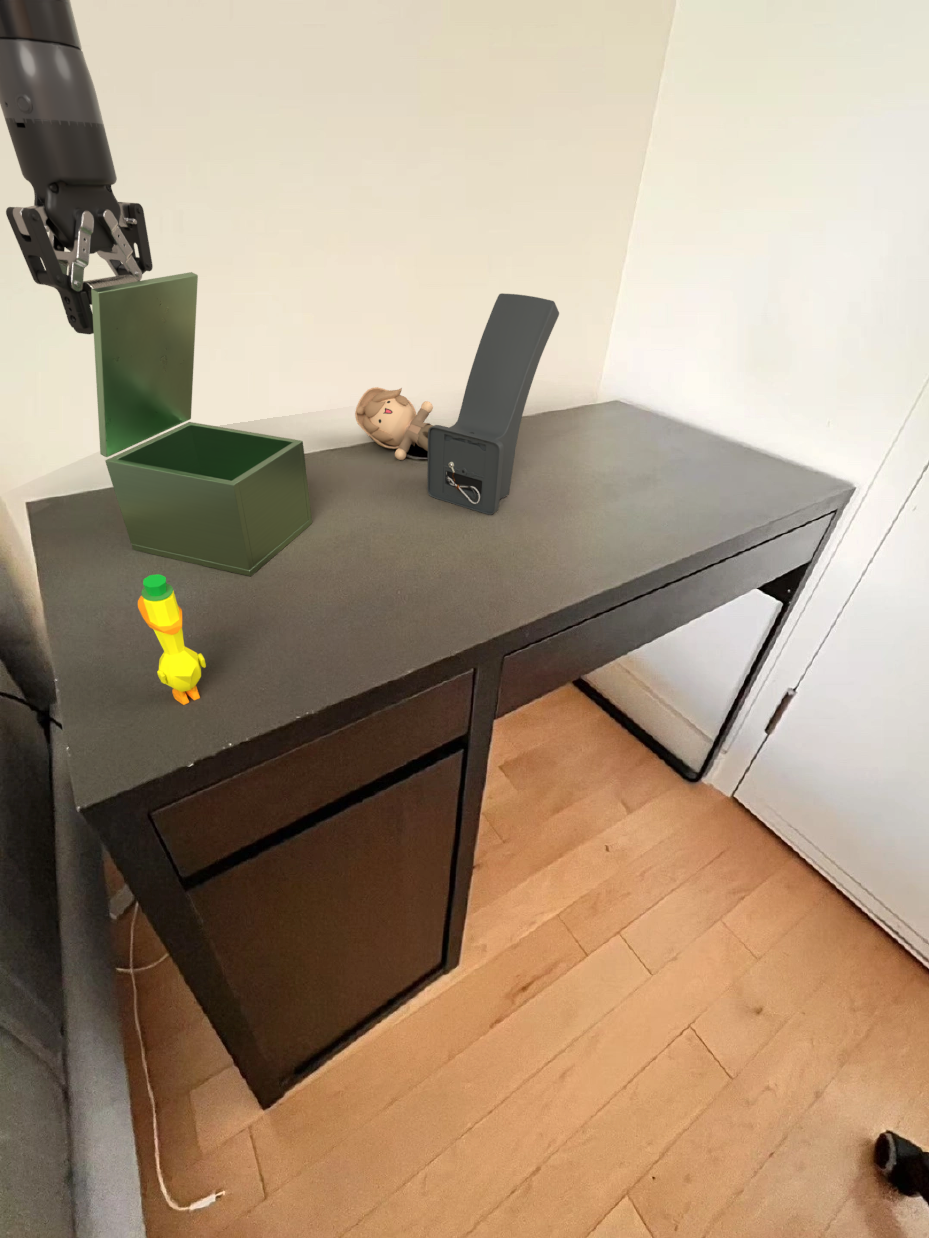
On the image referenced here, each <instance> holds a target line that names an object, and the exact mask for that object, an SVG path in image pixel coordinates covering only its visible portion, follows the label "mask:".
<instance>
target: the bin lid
mask: <svg viewBox="0 0 929 1238" xmlns="http://www.w3.org/2000/svg"><path fill="white" fill-rule="evenodd" d="M198 277H199V275H198V274H197V273H195V272H192V271H191V272H183V273H179V274H173V275H167V276H160V277H155V278H149V279H143V280H142V279H141V280H140V281H138V280H137V279H136V278H135V277H134V276H133V275H130V274H126V275H120V276H116V275H115V276H108V277H102V278H101V277H100V278H94V279H89V280H83V288H82V290H81V291H86V293H87V296H88V300H89V303H90V306H91V310H92V314H93V330H94V333H93V346H94V363H95V364H94V365H95V380H96V381H95V383H96V399H97V402H96V403H97V417H98V418H97V419H98V436H99V455H100V456H103V457H104V458H110V457H111V456H113V455H116V454H119V453H121V452H123V451H124V450H126V449H130V448H131V447H134V446H135V445H138V444H141V443H143V442H144V441H147V440H148V439H151V438H154V437H156V436H158V435H159V434H161V433H165V432H167V431H169V430H171V429H172V428H176V426H177V427H178V426H180V425H182V424H184V423H187V421H188V422H189V421H190V420H191V419H192V406H193V386H194V385H193V383H194V381H193V380H194V367H195V366H194V365H195V342H196V324H197V321H196V320H197V305H198V304H197V301H198V281H199V278H198Z"/></svg>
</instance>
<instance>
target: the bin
mask: <svg viewBox="0 0 929 1238" xmlns="http://www.w3.org/2000/svg"><path fill="white" fill-rule="evenodd" d="M104 461H105V465H106V468H107V471H108V475H109V477H110V481H111V484H112V487H113V490H114V494H115V497H116V500H117V503H118V506H119V509H120V512H121V516H122V519H123V523H124V526H125V528H126V532H127V536H128V539H129V541H130V544H131V547H132V550H133V551H136V552H137V551H138V552H141V553H145V554H149V555H150V554H151V555H154V556H158V557H164V558H168V559H172V560H176V561H182V562H184V563H185V562H186V563H190V564H194V565H198V566H203V567H207V568H212V569H217V570H220V571H221V570H222V571H224V572H229V573H234V574H239V575H243V576H248V577H252V576H253V575H254V574H256V573H257V572H258V571H259V570H260V569H261V568H262V567H264V566H265V565H266V564H267V563H268V562H269V561H271V560H272V559H273V558H275V556H276V555H278V554H279V553H280V552H281V551H282V550H283V549H284V548H286V547H287V546H288V545H289V544H290V543H292V542H293V541H294V540H295V539H296V538H297V537H298V536H300V535H301V534H302V533H303V532H304V531H305V530H306V529H307V528H309V527H310V526H311V525H312V524H313V520H312V510H311V502H310V493H309V483H308V476H307V467H306V458H305V448H304V441H303V440H300V439H294V438H288V437H282V436H277V435H271V434H265V433H259V432H254V431H253V432H252V431H247V430H242V429H234V428H229V427H223V426H216V425H210V424H205V423H199V422H193V421H188V422H185V423H182V424H180V425H178V426H177V427H174V428H173V429H169V430H167V431H165V432H163V433H162V434H160V435H156V436H154V437H152V438H150V439H149V440H145V442H144V441H143V442H141V443H139V444H137V445H136V446H132V448H131V447H130V448H128V449H127V450H125V451H122V452H119V453H117V454H115V455H114V456H112V457H108V458H106V459H105V460H104Z"/></svg>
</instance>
